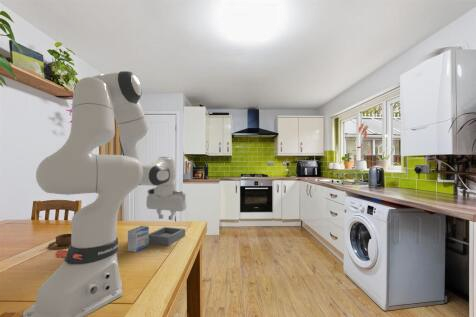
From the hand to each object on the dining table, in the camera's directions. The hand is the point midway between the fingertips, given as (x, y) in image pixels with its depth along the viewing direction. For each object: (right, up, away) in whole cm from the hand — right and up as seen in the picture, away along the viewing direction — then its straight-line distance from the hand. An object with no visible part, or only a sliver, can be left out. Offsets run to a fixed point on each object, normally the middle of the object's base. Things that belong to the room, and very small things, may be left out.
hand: (166, 219), depth 114 cm
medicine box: (-8, -10, -12) cm, 18 cm away
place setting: (-40, -10, -12) cm, 43 cm away
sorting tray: (0, -10, 0) cm, 10 cm away
